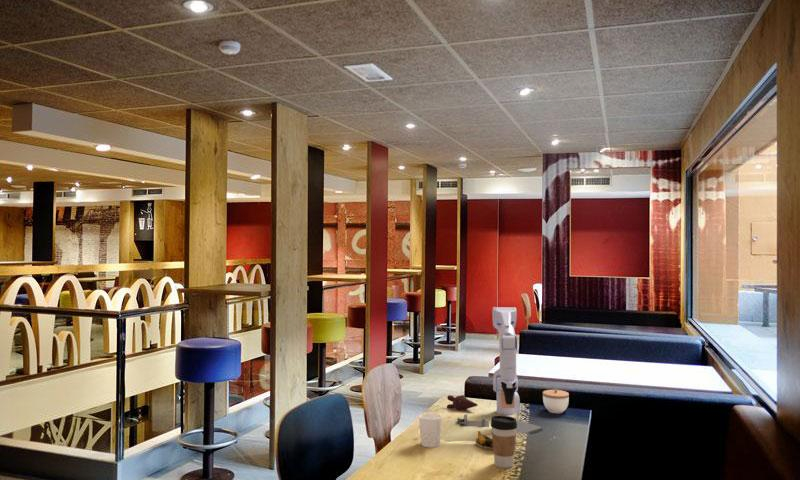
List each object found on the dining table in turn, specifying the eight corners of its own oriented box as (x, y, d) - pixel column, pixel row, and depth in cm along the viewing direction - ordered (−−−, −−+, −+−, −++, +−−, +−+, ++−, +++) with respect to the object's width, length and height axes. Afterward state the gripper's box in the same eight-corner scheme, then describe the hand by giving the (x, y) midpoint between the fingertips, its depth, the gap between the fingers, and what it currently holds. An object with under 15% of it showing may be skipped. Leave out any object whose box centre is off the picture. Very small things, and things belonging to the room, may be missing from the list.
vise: (457, 428, 230) (457, 419, 230) (457, 422, 237) (457, 413, 237) (489, 429, 229) (489, 420, 229) (488, 423, 236) (488, 414, 236)
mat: (519, 423, 236) (519, 420, 236) (542, 430, 228) (542, 427, 228) (500, 428, 230) (500, 426, 230) (523, 436, 221) (523, 433, 221)
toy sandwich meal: (505, 438, 219) (505, 425, 219) (516, 451, 206) (516, 438, 206) (471, 440, 218) (471, 427, 218) (480, 453, 204) (480, 439, 204)
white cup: (444, 442, 215) (444, 414, 215) (438, 449, 207) (438, 420, 207) (422, 439, 217) (422, 412, 217) (416, 446, 210) (416, 418, 210)
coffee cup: (488, 460, 197) (487, 414, 197) (513, 459, 198) (513, 413, 198) (494, 470, 189) (494, 422, 189) (520, 469, 189) (520, 421, 189)
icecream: (482, 396, 252) (452, 394, 261) (473, 395, 247) (442, 393, 256) (481, 413, 250) (451, 410, 260) (472, 413, 245) (441, 410, 254)
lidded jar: (542, 414, 249) (542, 391, 249) (542, 407, 259) (542, 385, 259) (569, 415, 246) (569, 392, 246) (568, 408, 257) (568, 386, 257)
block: (501, 407, 228) (500, 392, 228) (500, 405, 232) (500, 389, 232) (514, 408, 228) (514, 392, 228) (513, 405, 232) (513, 389, 232)
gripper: (497, 362, 238) (497, 397, 238) (498, 370, 223) (498, 407, 223) (515, 363, 237) (515, 397, 237) (517, 371, 222) (518, 408, 222)
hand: (508, 402), depth 230 cm, fingers closed on block, 4 cm apart
